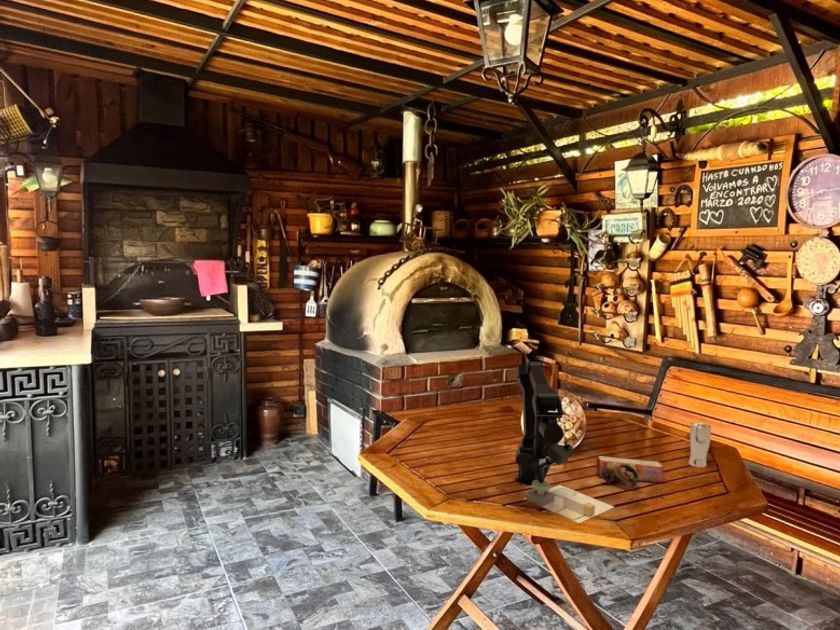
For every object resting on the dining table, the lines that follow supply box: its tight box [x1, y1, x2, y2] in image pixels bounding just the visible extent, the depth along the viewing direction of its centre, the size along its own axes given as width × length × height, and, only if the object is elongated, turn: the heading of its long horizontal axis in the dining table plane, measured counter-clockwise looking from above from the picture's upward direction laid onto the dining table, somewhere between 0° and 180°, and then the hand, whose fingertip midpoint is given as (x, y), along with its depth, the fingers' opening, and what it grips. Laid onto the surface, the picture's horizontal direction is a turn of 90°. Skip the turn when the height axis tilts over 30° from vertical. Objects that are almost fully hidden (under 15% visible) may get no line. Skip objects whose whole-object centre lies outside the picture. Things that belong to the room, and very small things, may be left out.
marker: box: [563, 494, 595, 516], centre depth 172 cm, size 9×3×3 cm, turn 40°
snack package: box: [596, 455, 664, 484], centre depth 200 cm, size 21×7×7 cm, turn 81°
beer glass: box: [688, 422, 712, 468], centre depth 215 cm, size 7×7×15 cm
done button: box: [531, 480, 551, 496], centre depth 177 cm, size 5×5×4 cm
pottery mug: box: [601, 464, 639, 491], centre depth 192 cm, size 12×10×8 cm
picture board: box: [523, 484, 614, 524], centre depth 177 cm, size 20×18×1 cm
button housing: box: [525, 488, 555, 507], centre depth 178 cm, size 6×6×3 cm
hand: (541, 482), depth 177 cm, fingers closed
